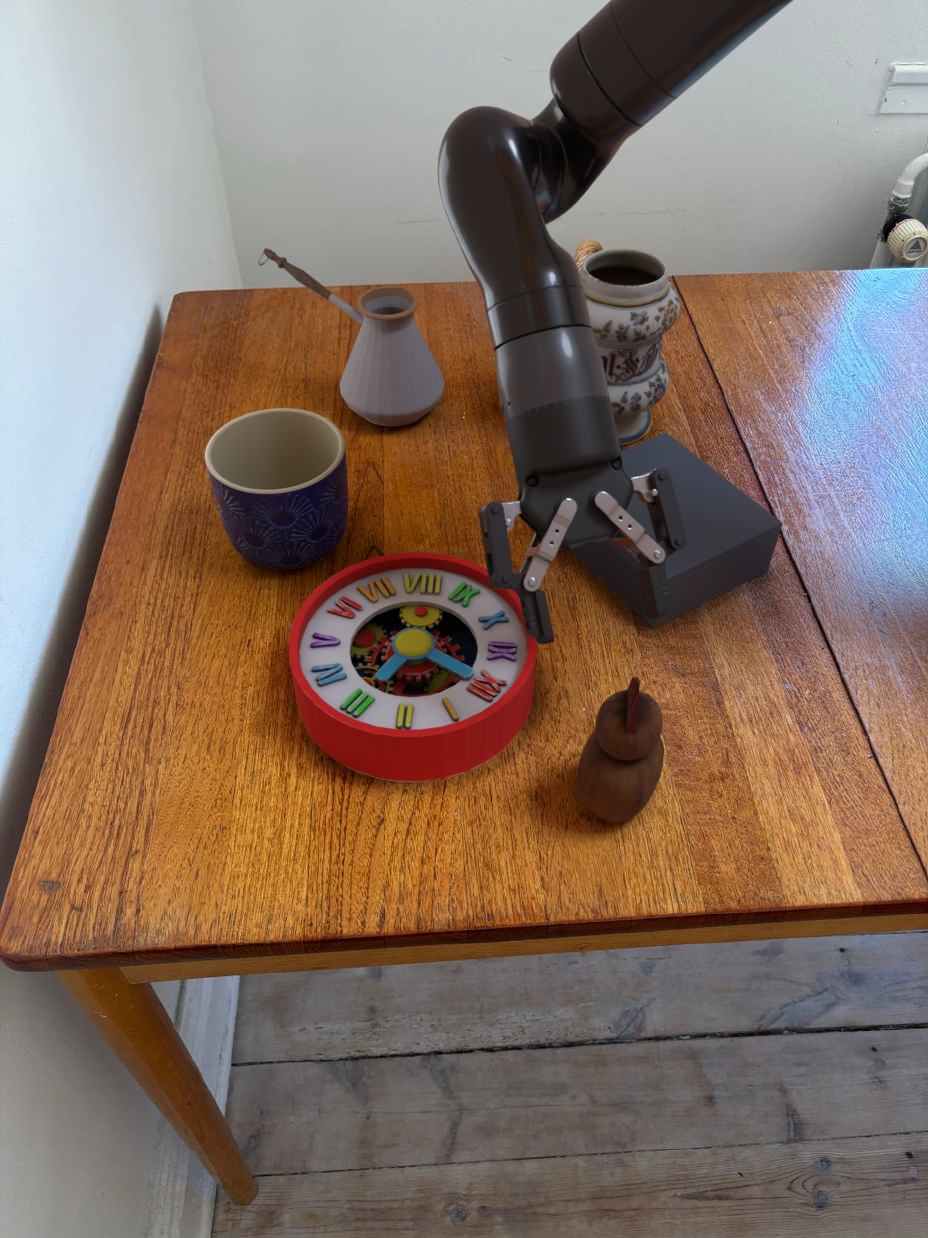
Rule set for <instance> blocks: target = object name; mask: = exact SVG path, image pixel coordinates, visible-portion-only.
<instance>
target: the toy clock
mask: <svg viewBox="0 0 928 1238" xmlns="http://www.w3.org/2000/svg"><path fill="white" fill-rule="evenodd" d="M287 645H288V659H289V665H290V671H291V677H292V682H293V690H294V693H295V701H296V706H297V709H298V712H299V715H300V718H301V721H302V724H303V726H304V728H305V729H306V731H307V732H308V735H309V736H310V738H311V740H312V741H314V743H315V744H316V745H317V746H318V747H319V748H320V749H321V750H322V751H323V752H324V753H325V754H326V755H328V756H329V757H330V758H332V759H333V760H335V762H337V763H338V764H340V765H342V766H344V767H346V768H348V769H349V770H352V771H354V772H356V773H359V774H361V775H365V776H368V777H370V778H373V779H377V780H383V781H389V782H396V783H428V782H435V781H442V780H447V779H450V778H453V777H456V776H457V777H458V776H460V775H463V774H466V773H468V772H470V771H473V770H475V769H477V768H479V767H481V766H483V765H485V764H487V763H488V762H489V761H491V760H493V759H494V758H495V757H497V756H498V755H499V754H501V753H502V752H503V751H504V750H505V749H506V748H507V747H508V746H509V745H510V744H512V743H513V741H514V740H515V739H516V738H517V736H518V734H519V733H520V732H521V730H522V729H523V727H524V726H525V724H526V722H527V719H528V717H529V714H530V712H531V710H532V706H533V705H532V704H533V700H534V692H535V683H536V671H537V669H536V668H537V660H538V659H537V658H538V646H539V644H538V642H537V640H536V638H534V637H530V636H529V634H528V633H527V631H526V628H525V622H524V617H523V614H522V609H521V604H520V599H519V596H518V595H517V593H516V592H514V591H512V590H507V589H500V588H493V587H492V586H491V585H490V584H489V580H488V573H487V567H485V566H483V565H481V564H478V563H475V562H473V561H470V560H468V559H465V558H461V557H457V556H453V555H449V554H445V553H437V552H430V551H429V552H426V551H422V552H420V551H416V552H415V551H407V552H398V553H397V552H396V553H389V554H384V555H381V556H375V557H372V558H368V559H365V560H363V561H360V562H357V563H354V564H352V565H349V566H348V567H346V568H344V569H342V570H340V571H338V572H336V573H334V574H333V575H331V576H330V577H329V578H327V579H326V580H324V581H323V582H322V583H321V584H319V585H318V586H317V587H316V588H315V589H314V590H313V591H312V593H310V594H309V596H307V598H305V600H304V602H303V603H302V605H301V607H300V608H299V610H298V611H297V612H296V615H295V617H294V619H293V622H292V624H291V627H290V632H289V637H288V644H287Z"/></svg>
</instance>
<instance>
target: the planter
mask: <svg viewBox="0 0 928 1238" xmlns="http://www.w3.org/2000/svg"><path fill="white" fill-rule="evenodd" d="M346 450H347V449H346V441H345V437H344V435H343V433H342V431H341V430H340V429H339V427H338V426H337V425H336V424H335V423H334V422H332V420H330V419H328V418H326V417H325V416H323V415H321V414H318V413H316V412H313V411H309V410H306V409H299V408H290V407H277V408H268V409H267V408H266V409H261V410H256V411H253V412H249V413H246V414H244V415H240V416H239V417H236V418H234V419H232V420H230V421H228V422H227V423H226V424H224V425H223V426H221V427H220V428H219V429H218V430H216V432H215V433H214V434H213V435H212V436H211V438H210V439H209V440H208V443H207V445H206V447H205V450H204V451H205V452H204V462H205V466H206V469H207V474H208V477H209V481H210V485H211V488H212V492H213V496H214V500H215V502H216V507H217V510H218V513H219V516H220V519H221V522H222V525H223V528H224V531H225V533H226V535H227V538H228V540H229V542H230V543H231V545H232V546H233V548H234V549H235V551H236V552H237V553H238V554H239V555H240V556H241V557H242V558H243V559H245V560H246V561H248V562H250V563H252V564H254V565H255V566H258V567H261V568H265V569H269V570H279V571H288V570H297V569H302V568H306V567H309V566H311V565H313V564H316V563H318V562H320V561H322V560H323V559H325V558H326V557H328V556H329V555H331V553H333V552H334V551H335V550H336V548H338V546H339V545H340V544H341V542H342V540H343V538H344V536H345V533H346V529H347V525H348V519H349V516H348V515H349V485H348V484H349V482H348V466H347V451H346Z"/></svg>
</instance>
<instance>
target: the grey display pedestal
mask: <svg viewBox="0 0 928 1238" xmlns="http://www.w3.org/2000/svg"><path fill="white" fill-rule="evenodd" d="M621 456H622V465H623V468H624V470H625V472H626V473H627V475H628V476H629V477H630V478H633V477H637V476H640V475H643V474H645V473H647V472H649V471H651V470H654V469H659V468H665V469H666V470H667V471H668V472H669V474H670V478H671V482H672V485H673V489H674V493H675V497H676V501H677V505H678V509H679V512H680V516H681V520H682V524H683V528H684V532H685V535H686V539H687V543H686V546H685V547H684V548H683V549H681V550H677V551H676V552H674V553H673V554H671V555H670V556H668V557H667V559H666V560H665V564H664V566H665V572H666V577H667V582H668V587H669V592H670V596H671V603H670V607H667V608H666V616H665V617H660V618H656V619H654V618H648V617H647V615H646V613H645V608H644V603H643V598H642V593H641V588H640V584H639V579H638V574H637V569H638V568H641V566H640V563H639V562H638V561H637V560H636V559H635V558H634V557H632V556H631V555H630V554H629V553H628V552H627V551H626V550H625V549H624V548H622V547H620V546H618V545H617V544H615V543H614V542H613V541H612V540H611V539H610V541H606V542H602V543H597V544H591V545H589V544H585V545H583V546H581V547H579V548H574V549H569V550H570V551H571V552H572V553H573V554H574V555H575V556H576V558H578V559H579V560H580V561H581V562H582V563H584V564H585V566H587V568H589V569H590V570H591V571H592V572H593V573H594V574H595V575H596V576H597V577H598V578H599V579H600V580H601V581H602V582H603V583H604V584H605V585H607V587H608V588H609V589H610V590H612V591H613V592H614V593H615V594H616V596H618V597H619V598H620V599H621V600H622V601H623V602H624V603H625V604H626V605H627V606H628V607H629V608H630V609H631V610H633V611H634V613H635V614H637V615H638V616H639V618H641V619H642V620H643V621H644V622H645V624H647V625H648V626H649V627H650V628H651V629H652V630H655V629H657V628H659V627H660V626H663V625H665V624H666V623H668V622H670V621H673V620H674V619H677V618H678V617H680V616H682V615H684V614H686V613H688V612H691V611H692V610H694V609H696V608H698V607H700V606H702V605H704V604H706V603H708V602H709V601H711V600H714V599H716V598H717V597H720V596H722V595H724V594H725V593H727V592H729V591H731V590H733V589H735V588H737V587H739V586H741V585H743V584H745V583H747V582H749V581H751V580H753V579H755V578H757V577H758V576H760V575H763V574H765V573H766V572H768V571H769V569H770V565H771V562H772V559H773V556H774V553H775V549H776V546H777V543H778V539H779V537H780V533H781V530H782V526H783V521H781V520H780V519H778V518H777V517H776V516H775V515H773V514H772V513H771V512H769V511H768V510H767V509H765V508H764V507H763V506H762V505H760V504H759V503H758V502H756V500H754V499H753V498H751V497H750V495H749V496H748V494H746V493H745V492H744V491H742V490H741V489H740V488H738V487H737V486H736V485H735V484H734V483H732V482H731V481H730V480H728V479H727V478H726V477H724V476H723V475H722V474H720V473H719V472H718V471H717V470H715V469H714V468H713V467H712V466H710V465H709V464H708V463H706V462H705V461H704V460H703V459H702V458H700V457H698V455H696V454H695V453H693V452H692V451H691V450H690V449H688V448H687V447H686V446H684V444H682V443H681V442H679V441H678V440H676V439H675V437H674V436H672V435H671V434H669V433H668V432H664V433H662V434H661V433H660V434H658V435H656V436H654V437H651V438H649V439H647V440H645V441H642V442H640V443H637V444H635V445H632V446H630V447H628V448H626V449H623V450H621ZM626 512H627V513H628V514H630V515H631V516H632V517H633V518H634V519H635V520H636V521H637V522H638V523H639V524H640V525H641V526H642V527H643V528H644V529H645V530H646V533H647V534H648V535H649V536H650V537H651V538H652V539H653V540H654V541H656V537H655V533H654V530H653V526H652V522H651V518H650V514H649V511H648V507H647V503H643V502H641V501H640V499H639V497H638V495H637V494H636V493H634V492H633V495H632V498H631V500H630V502H629V505H628V507H627V510H626ZM628 527H629V526H628Z"/></svg>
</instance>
